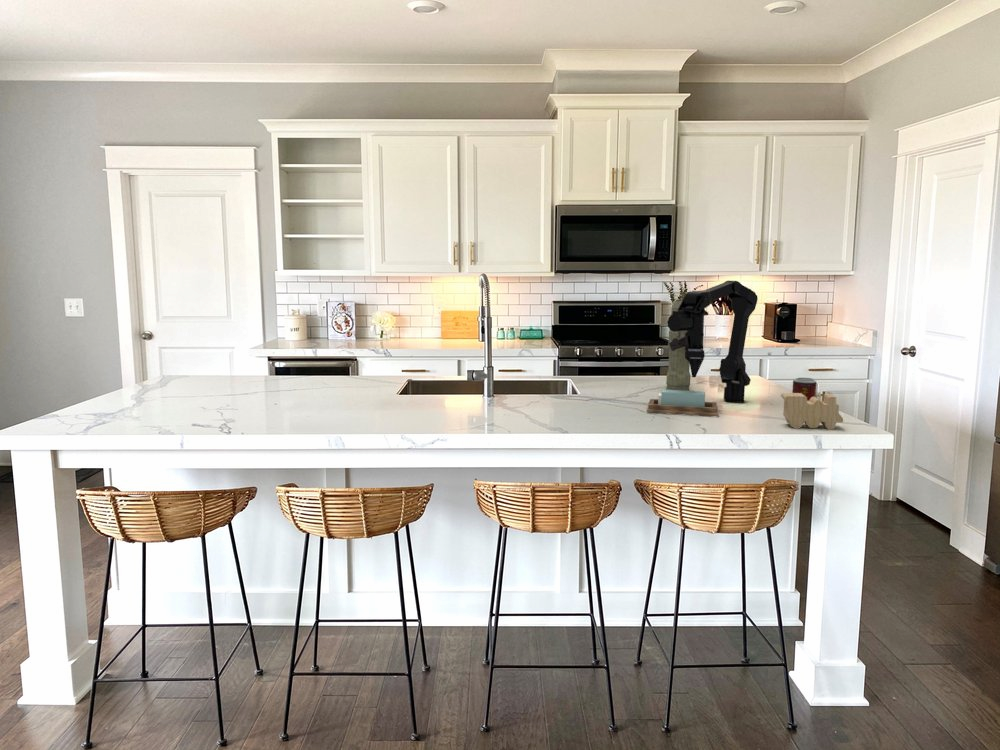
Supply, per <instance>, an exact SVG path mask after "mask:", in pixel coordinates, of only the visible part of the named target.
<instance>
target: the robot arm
mask: <svg viewBox="0 0 1000 750" xmlns="http://www.w3.org/2000/svg"><path fill="white" fill-rule="evenodd" d="M723 297H727V298H728V299H729V300H730V301H731V309H732V313H733V314H734V317H733V320H732V321H733V323H732V328H731V333H730V334H731V335H730V340H729V347H728V354H727V355H726V357H725V358H721V360H720V364H719V365H720V366H719V368H718V370H719V375H720V380H721V383H722V384H725V386H724V387H723V400H724V402H726V403H727V402H728V403H743V404H744V403H745V390H746V387H748V386H750V383H751V381H752V380H751V379H752V378H750V376H749V374H748V373H747V371H746V368H747V367H746V362H745V360H744V357H743V356H744V349H745V346H746V345H745V344H746V338H747V331H748V327H749V326H748V325H749V319H750V316H751V315H752V314H753V312H755V310H756V308H757V303H758V297H759V296H758V295H757V294H756V292H755V291H754V290H752V289H751V288H749V287H748V286H744V285H743V284H742V283H741V282H740V281H738V280H726V281H724V282H722V283H720V284H716V285H714V286H712V287H710V288H707V289H703V290H693V291H692V290H691V291H686V293H685V294H684V297H683V299H681V300H682V302H681V304H680V306H679V308H678V310H677V311H673V312H672V315H671V314H670V316H669V317H668V320H667V323H666V324H667V327H668V329H669V330H671V331H673V332H676V331H684V330H686V332H685V336H683V337H679V338H677V337H676V338H675V339H672V340H671V341H669V345H670V348H671V351H675V350H676V349H679V348H682V347H684V346H685V359H686V360H687V361H689V363H690V368H689V369H690V375H691V377H692V378H696V377H697V375H698V373H699V370H700V368H701V365H702V364H703V362H704V359H705V350H704V335H705V334H704V333H705V329H704V328H705V316H709V312H708V311H707V310H705V309H706V308H708V307H709V306H710V305H711V303H712V302H714V301H716V300H718V299H720V298H723Z"/></svg>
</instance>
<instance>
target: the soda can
mask: <svg viewBox="0 0 1000 750" xmlns="http://www.w3.org/2000/svg"><path fill="white" fill-rule="evenodd" d="M817 384H818V383H817V380H815V379H814V378H811V377H796V378H795V379H793V380H792V389H791V390H792V392H791V393H802V394H803V395H804V396H806V397H807V401H809V400H810V398H811V397H816V396H817ZM816 398H817V397H816Z"/></svg>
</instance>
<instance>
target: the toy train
mask: <svg viewBox="0 0 1000 750" xmlns="http://www.w3.org/2000/svg"><path fill="white" fill-rule="evenodd" d="M780 397H781V398H782V399H783V400H784V401H783V414H782V415H783V417H784V419H785V421H786V423H788V425H790V427H792V428H794V429H800V428H802V427H803V426H804V424H805V425H806V426H807V427H809V428H810V429H817V428H818V427H819V426H820V424H821V425H822V426H823V427H825V428H826V429H828V430H833V429H835V428H836V425H837V423H843V422H844V418H843V416H841V413H839V412H840V405H839V404H838V403H837V396H835V395H833V394H832V393H824V394H823V401H822V400H820V399H819V398H817V397H811V398H810V400H809V401H807V397H806V396H804V395H803V394H802V393H792V392H782V393H781V394H780Z"/></svg>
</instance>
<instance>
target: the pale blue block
mask: <svg viewBox="0 0 1000 750" xmlns="http://www.w3.org/2000/svg"><path fill="white" fill-rule="evenodd" d="M657 399H658V405H675V406H694V407H705V402H706V391H700V390H689V391H683V390H667V389H661V392H659V393H658V397H657Z"/></svg>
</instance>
